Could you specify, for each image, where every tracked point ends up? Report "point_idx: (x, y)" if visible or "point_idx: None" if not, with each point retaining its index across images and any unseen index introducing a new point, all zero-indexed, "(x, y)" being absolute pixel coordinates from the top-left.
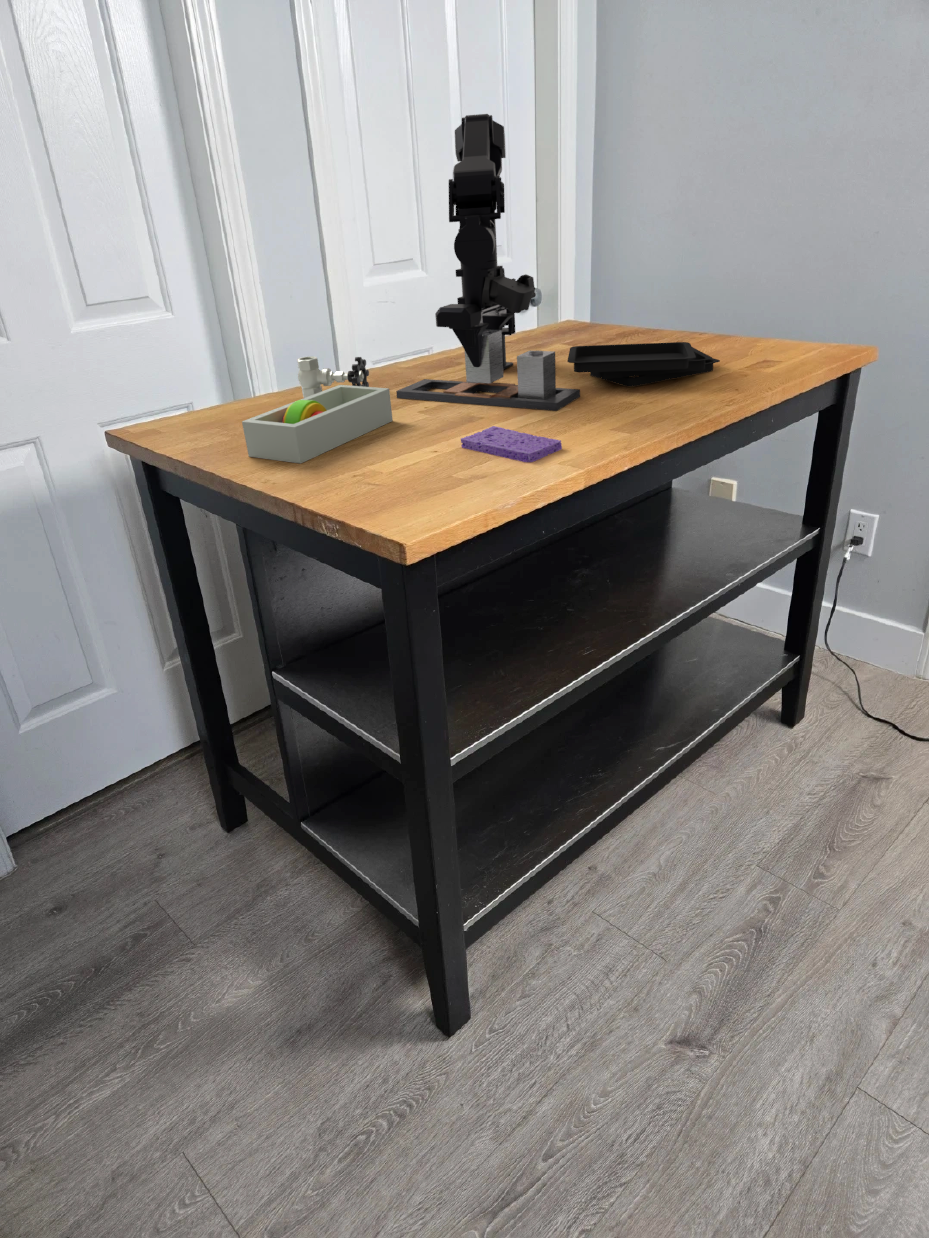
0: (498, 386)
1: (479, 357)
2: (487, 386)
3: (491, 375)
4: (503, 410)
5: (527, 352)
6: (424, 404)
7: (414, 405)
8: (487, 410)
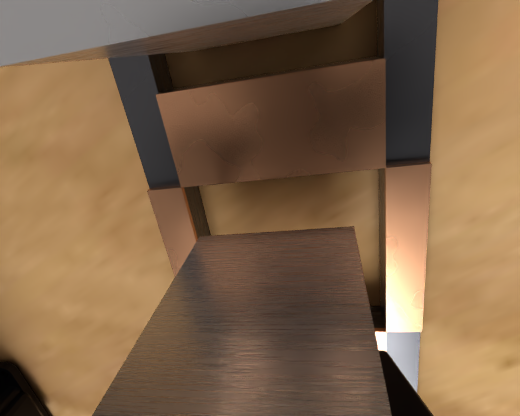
0: None
1: (412, 407)
2: None
3: (339, 250)
4: (497, 17)
5: (96, 3)
6: (461, 384)
7: (483, 404)
8: (513, 107)
